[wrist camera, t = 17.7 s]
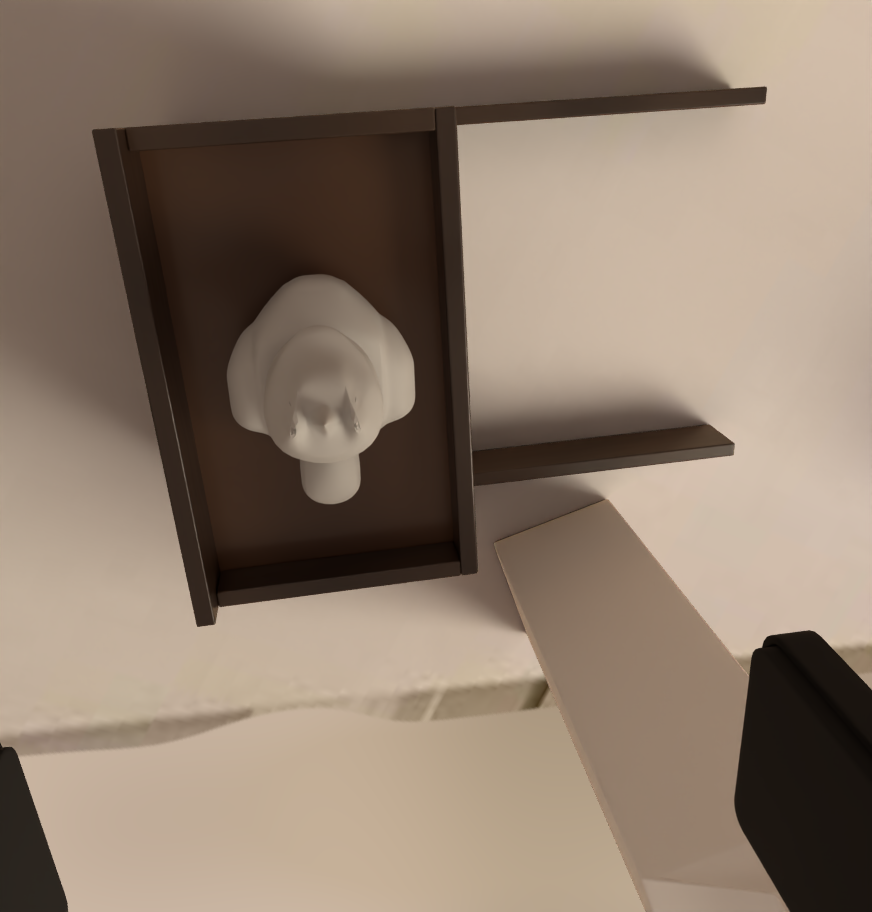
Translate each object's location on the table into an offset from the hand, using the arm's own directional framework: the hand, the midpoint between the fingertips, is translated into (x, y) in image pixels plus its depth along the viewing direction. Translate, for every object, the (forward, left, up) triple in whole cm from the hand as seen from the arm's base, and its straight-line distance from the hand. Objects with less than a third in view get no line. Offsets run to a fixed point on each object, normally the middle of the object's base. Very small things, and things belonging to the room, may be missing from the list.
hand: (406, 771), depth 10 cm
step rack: (0, +5, -26) cm, 26 cm away
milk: (+13, +10, -26) cm, 31 cm away
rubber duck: (0, -1, -18) cm, 18 cm away
